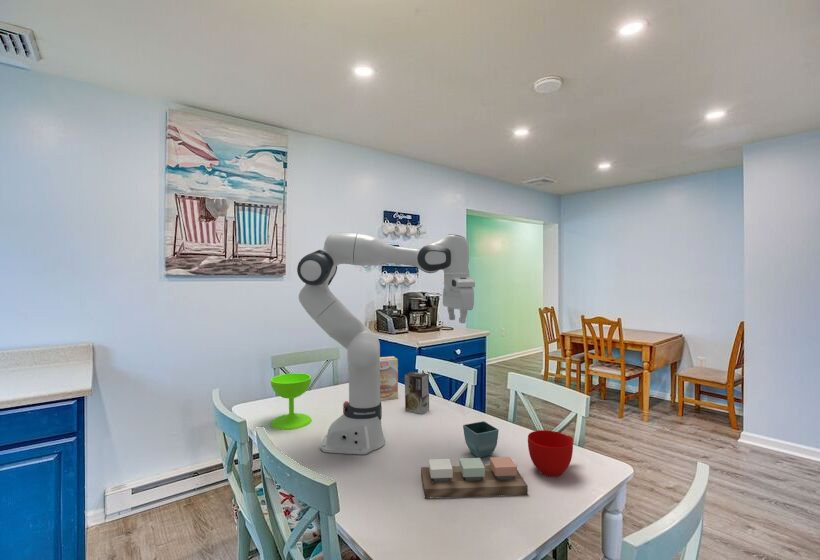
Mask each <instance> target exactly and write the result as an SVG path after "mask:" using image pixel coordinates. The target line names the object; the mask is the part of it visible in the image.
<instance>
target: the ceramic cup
mask: <svg viewBox="0 0 820 560" xmlns="http://www.w3.org/2000/svg"><path fill="white" fill-rule="evenodd" d="M573 439H574V438H573V437H572V436H571V435H567V434H564V433H562V432H558V431H555V430H554V431H553V430H548V429H547V430H546V429H545V430H544V429H542V430H541V429H540V430H535V431H531V432H530V433H528V435H527V446H528V452H529V453H528V454H529V458H530V460H531V461H532V464H533V466H534V467H535V468H536V469H537V470H538V472H539V473H540V474H542V475H543V476H547V477H551V478H552V477H553V478H556V477H561V476H562V474H563V473H565V471H566V470H567V469H568V468H569V467H570V464H571V462H572V458H573V452H574V440H573Z"/></svg>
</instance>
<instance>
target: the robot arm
mask: <svg viewBox="0 0 820 560" xmlns="http://www.w3.org/2000/svg"><path fill="white" fill-rule="evenodd" d="M469 262H470V247H469V242H468V239H467V238H466V237H464V236H462V235H459V234H453V233H451V234H445V236H443V237H442V238H441V239H439V240H437V241H435V242H432V243H429V244H426V245H424V246H423V247H420V248H410V247H408V248H407V247H402V246H395V245H391V244H389V243H387V242H385V241H383V240H381V239H380V238H378V237H375V236H373V235H370V234H366V233H365V234H364V233H358V232H333V233H330V234H329V235H327V237H326V239H325V241H324V243H323V248H322V249H317V250H316V251H313V252H311V253H308V254H307V255H305V256H303V257H302V258H301V259H300V260H299V262H298V264H297V267H296V272H297V275H298V277H299V279H300V281H302V283H305V285H304V286H303V287H302V288H301V289H300V291H299V293H298V300H299V303H300V304H301V306H302V308H303V309H304V310H305V312H306V313H307V314H308V315H309V317H310V318H311V319H312V320H313V321H314V322H315V323H316V324H317V325H318V326H319V327H320V328H321V329H322V330H323V331H324V333H326V334H327V335H328V336H329V338H331V339H333V340H334V341H335V342H337V343H338V344H339V345H341V346H342V347H343V348H344V349H345V350H346V351H347V352H346V353H347V355H346V356H347V371H348V372H347V373H348V374H347V376H348V401H347V400H346V401H344V402H343V404H342V414H341V415H340V416H339V417H338V418H336V419H334V421H332V422H331V423H330V425H329V427H328V430H327V434H326V435H325V436H324V437H323V438H322V440H321V441H320V450H321V451H322V452H323V453H333V454H349V455H353V454H354V455H368V454H369V453H370V452H372V451H375V450H378V449H380V448H381V447H383V446H384V445H385V443H386V439H385V436H384V431H383V428H382V427H383V426H382V417H383V406H382V401H380V357H381V344H380V340H379V338H378V336H377V335H376V334H375V333H374V332H373V331H372V330H371V329H369V327H367V325H365V324H364V323H363V322H362V320H360V319H358V317H356V316H355V315H354V314H353V313H352V312H351V311H350V310H349V309H348V308H347V306H345V305H344V304H343V303H342V301H341V300H340V299H339V298H338V297H336V295H335V294H334V293H333V292H332V291H331V290H330V288H329V285H331V282H333V279H334V278H335V276H336V274H337V270H338V266H339V265H353V266H362V267H364V266H367V267H369V266H370V267H371V266H379V265H386V264H396V265H403V266H412V267H415V268H417V269H419V270H421V272H423V273H426V274H433V273H434V274H435V273H437V272H439V271H443V290H442V305H443V307H445V308H446V307H447V312H448V319H449V320H450V321H455V320H456V314H455V310H459V318H458V323H460V324H466V321H467V320H466V318H467V315H468V311H472V310H473V308H474V303H475V290H474V288H475V286H476V282H475V280H474V279H473V278H472V277H471V276H470V269H469V264H470V263H469Z"/></svg>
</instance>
